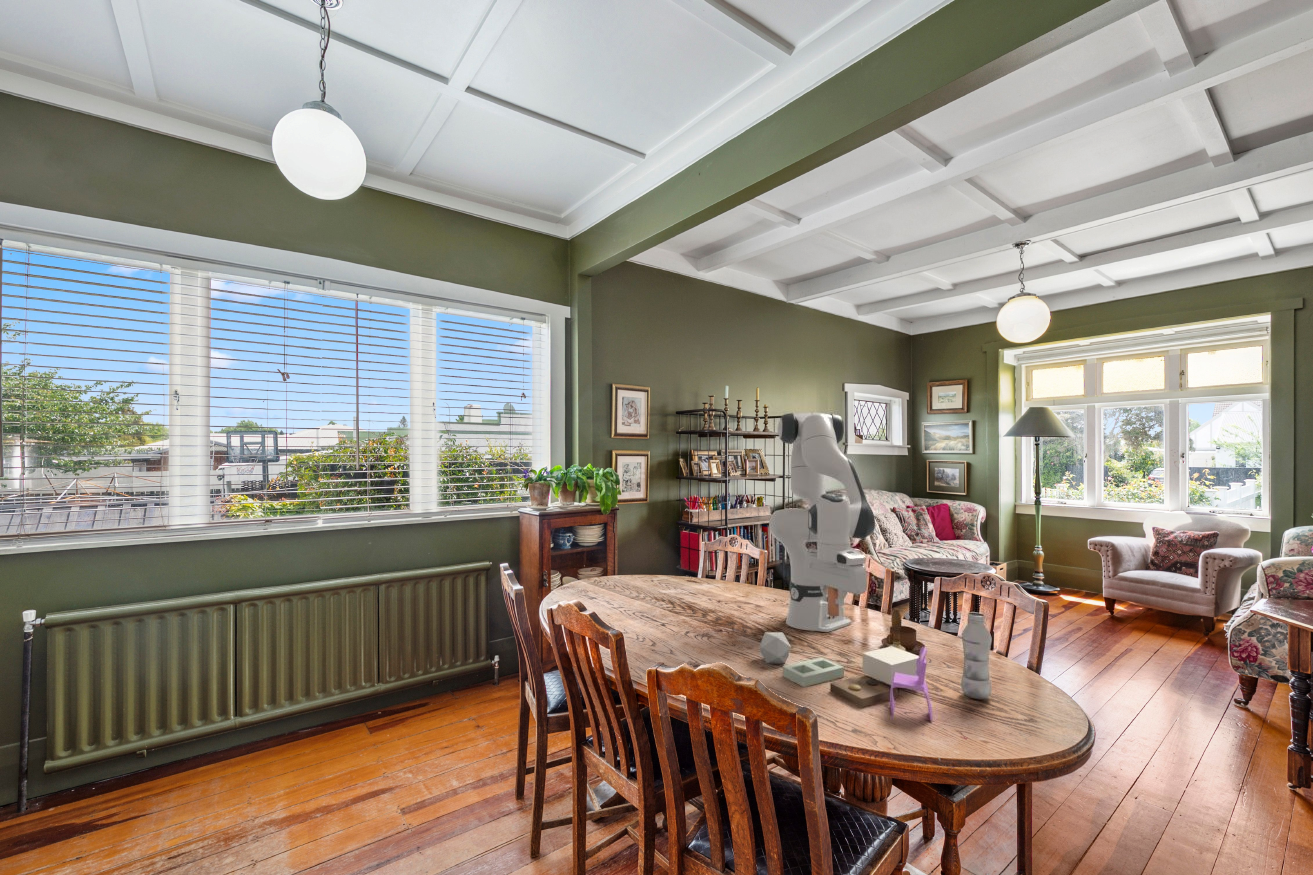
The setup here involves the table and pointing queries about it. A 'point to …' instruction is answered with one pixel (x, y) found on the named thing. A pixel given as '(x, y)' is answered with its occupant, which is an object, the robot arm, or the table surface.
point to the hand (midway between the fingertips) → (833, 603)
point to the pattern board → (862, 690)
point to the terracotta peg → (832, 602)
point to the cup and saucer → (905, 639)
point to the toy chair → (913, 682)
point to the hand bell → (896, 629)
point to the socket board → (813, 671)
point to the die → (774, 647)
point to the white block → (889, 663)
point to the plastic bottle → (976, 658)
